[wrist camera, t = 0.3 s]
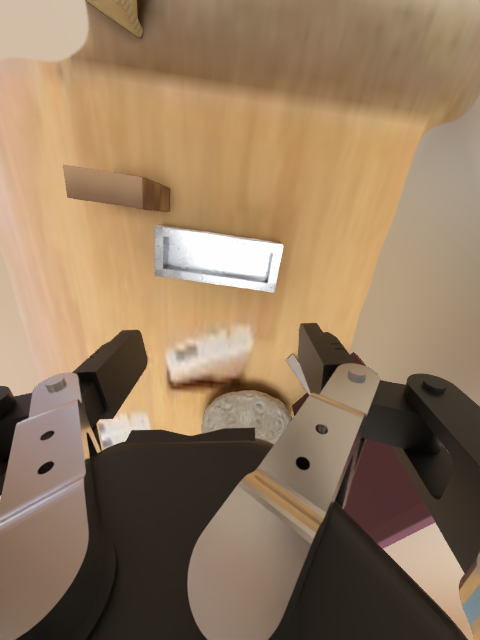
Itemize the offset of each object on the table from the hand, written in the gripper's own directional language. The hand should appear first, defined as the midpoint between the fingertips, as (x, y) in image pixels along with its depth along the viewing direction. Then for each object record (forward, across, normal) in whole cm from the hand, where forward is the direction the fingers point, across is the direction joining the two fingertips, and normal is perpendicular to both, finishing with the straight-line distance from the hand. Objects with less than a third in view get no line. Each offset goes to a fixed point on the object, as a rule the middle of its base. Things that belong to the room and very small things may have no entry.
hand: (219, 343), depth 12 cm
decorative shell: (+28, 0, +32) cm, 42 cm away
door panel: (+28, +13, -9) cm, 32 cm away
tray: (+28, +3, 0) cm, 28 cm away
